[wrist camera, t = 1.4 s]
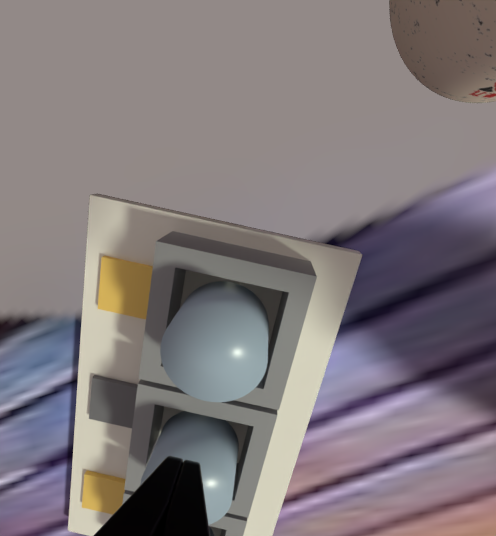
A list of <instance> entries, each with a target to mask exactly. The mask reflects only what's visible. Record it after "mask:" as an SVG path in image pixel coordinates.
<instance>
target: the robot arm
mask: <svg viewBox="0 0 496 536" xmlns="http://www.w3.org/2000/svg"><path fill="white" fill-rule="evenodd" d="M94 536H210V532H209V524H208V517H207V510H206V503H205V495H204V488H203V481H202V473H201V466H200V463H199V462H195V461H191V460H185V461H184V462H183V459H182V458H178V457H174V456H168V457H166V458H165V459H164V460H163V461H162V463H161V464H160V465H159V466H158V467H157V468H156V469H155V470H154V471H153V472H152V473H151V474H150V475H149V477H148V478H147V479H146V480H145V481H144V482H143V483H142V484H141V485H140V486H139V487H138V488H137V489H136V490H135V492H134V493H133V494H132V495H131V496H130V497H129V498H128V499H127V500H126V501H125V502H124V503H123V504H122V506H121V507H120V508H119V509H118V510H117V511H116V512H115V513H114V514H113V515H112V516H111V517H110V518H109V520H108V521H107V522H106V523H105V524H104V525H103V526H102V527H101V528H100V529H99V530H98V531H97V532H96V533H95V535H94Z"/></svg>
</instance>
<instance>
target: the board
mask: <svg viewBox="0 0 496 536" xmlns="http://www.w3.org/2000/svg"><path fill="white" fill-rule="evenodd" d="M361 258H362V254H361V253H360V252H359V251H356V250H352V249H347V248H342V247H338V246H333V245H329V244H324V243H320V242H315V241H311V240H306V239H301V238H297V237H292V236H288V235H283V234H279V233H274V232H269V231H265V230H260V229H256V228H251V227H246V226H242V225H238V224H233V223H229V222H224V221H219V220H215V219H210V218H206V217H201V216H196V215H192V214H187V213H183V212H179V211H174V210H169V209H165V208H160V207H156V206H151V205H146V204H142V203H138V202H133V201H128V200H124V199H119V198H115V197H110V196H106V195H101V194H92V195H90V198H89V214H88V231H87V245H86V261H85V276H84V292H83V306H82V322H81V337H80V353H79V368H78V384H77V399H76V415H75V430H74V445H73V461H72V476H71V492H70V507H69V523H68V531H71V532H76V533H80V534H84V535H89V536H94V535H95V533H96V532H97V531H98V530H99V529H100V528H101V527H102V526H103V525H104V524H105V523H106V522H107V521H108V520H109V518H110V517H111V516H112V515H113V514H114V513H115V512H116V511H117V510H118V509H119V508H120V507H121V506H122V504H123V503H124V502H125V501H126V500H127V499H128V498H129V497H130V496H131V495H132V494H133V493H134V492H135V490H136V489H137V488H138V487H139V486H140V483H141V478H142V476H143V473H144V471H145V469H146V466H147V464H148V462H149V459H150V457H151V455H152V452H153V450H154V448H155V445H156V443H157V441H158V438H159V436H160V433H161V431H162V429H163V426H164V425H165V423H166V422H167V421H168V420H169V419H170V418H171V417H172V416H174V415H176V414H178V413H180V412H183V411H187V412H191V413H196V414H200V415H205V416H209V417H214V418H218V419H222V420H226V421H227V422H228V423H229V424H230V425H231V426H232V428H233V429H234V431H235V433H236V435H237V438H238V443H239V448H238V456H237V464H236V473H235V481H234V489H233V497H232V503H231V506H230V508H229V510H228V512H227V513H226V514H225V515H224V516H223V517H222V518H221V519H220V520H218V521H216V522H214V523H212V524H210V525H209V526H210V527H211V529H212V530H213V533H214V536H272V535H273V532H274V528H275V525H276V522H277V519H278V516H279V513H280V510H281V507H282V504H283V500H284V497H285V494H286V491H287V488H288V485H289V482H290V479H291V476H292V472H293V469H294V466H295V463H296V460H297V457H298V454H299V451H300V448H301V444H302V441H303V438H304V435H305V432H306V429H307V426H308V423H309V420H310V416H311V413H312V410H313V407H314V404H315V401H316V398H317V395H318V392H319V388H320V385H321V382H322V379H323V376H324V373H325V370H326V367H327V364H328V361H329V357H330V354H331V351H332V348H333V345H334V342H335V339H336V336H337V333H338V329H339V326H340V323H341V320H342V317H343V314H344V311H345V308H346V305H347V301H348V298H349V295H350V292H351V289H352V286H353V283H354V280H355V277H356V273H357V270H358V267H359V264H360V261H361ZM218 281H227V282H233V283H236V284H239V285H242V286H244V287H246V288H247V289H249V290H250V291H252V292H253V293H254V294H255V295H256V296H257V297H258V298H259V299H260V300H261V302H262V303H263V305H264V307H265V309H266V311H267V315H268V321H269V332H268V363H267V368H266V371H265V374H264V376H263V378H262V380H261V381H260V383H259V384H258V385H257V386H256V387H255V388H254V389H253V390H252V391H251V392H250V393H248V394H247V395H245V396H243V397H241V398H239V399H236V400H232V401H227V402H208V401H203V400H200V399H197V398H194V397H192V396H190V395H188V394H186V393H185V392H183V391H182V390H180V389H179V388H178V387H177V386H176V385H175V384H174V383H173V382H172V381H171V380H170V378H169V377H168V375H167V373H166V372H165V370H164V367H163V364H162V361H161V354H160V348H161V341H162V338H163V335H164V333H165V331H166V329H167V327H168V326H169V324H170V323H171V321H172V320H173V318H174V317H175V315H176V314H177V312H178V311H179V309H180V308H181V306H182V305H183V303H184V302H185V300H186V299H187V298H188V296H189V295H190V294H191V293H192V292H193V291H194V290H196V289H197V288H199V287H201V286H203V285H205V284H208V283H211V282H218Z"/></svg>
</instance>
